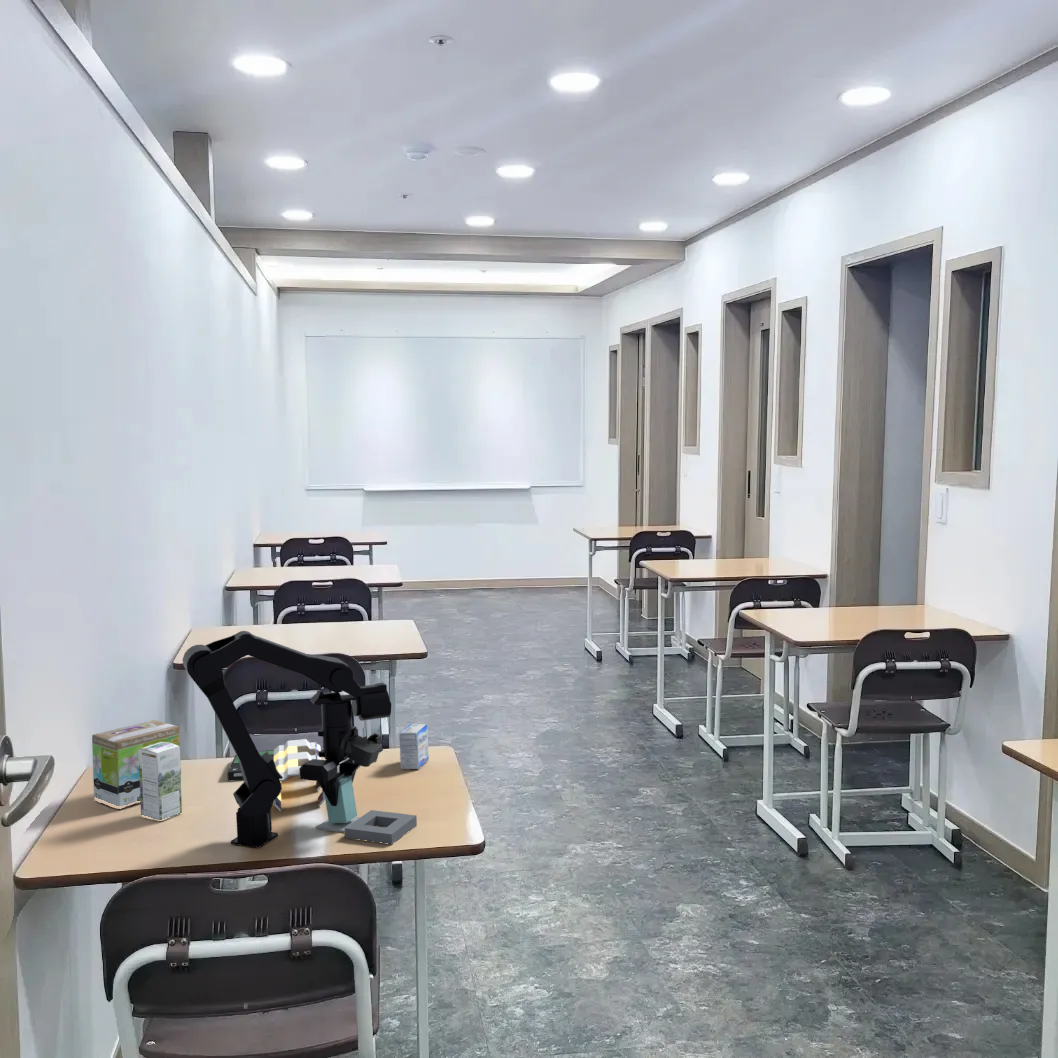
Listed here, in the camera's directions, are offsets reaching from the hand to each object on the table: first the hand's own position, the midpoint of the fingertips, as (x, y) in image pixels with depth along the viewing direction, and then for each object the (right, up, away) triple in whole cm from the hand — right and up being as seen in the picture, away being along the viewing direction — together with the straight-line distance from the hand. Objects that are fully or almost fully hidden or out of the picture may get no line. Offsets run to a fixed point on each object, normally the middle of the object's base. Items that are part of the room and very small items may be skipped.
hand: (340, 802), depth 200 cm
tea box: (-47, -4, +19) cm, 51 cm away
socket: (+9, -5, -4) cm, 11 cm away
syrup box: (-37, -5, +7) cm, 38 cm away
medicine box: (+10, -1, +37) cm, 38 cm away
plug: (+1, -3, 0) cm, 3 cm away
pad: (0, -5, 0) cm, 4 cm away
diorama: (-13, -4, +22) cm, 25 cm away
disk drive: (-26, -3, +36) cm, 45 cm away
